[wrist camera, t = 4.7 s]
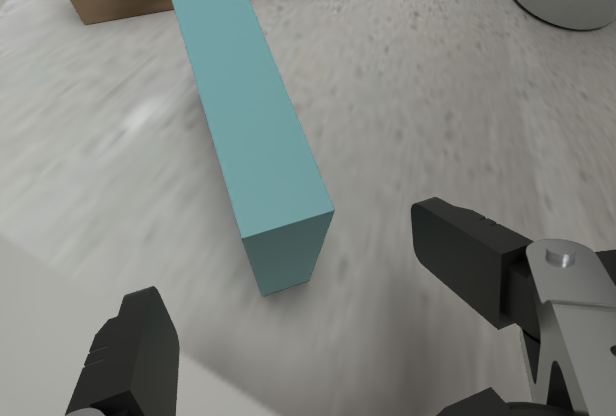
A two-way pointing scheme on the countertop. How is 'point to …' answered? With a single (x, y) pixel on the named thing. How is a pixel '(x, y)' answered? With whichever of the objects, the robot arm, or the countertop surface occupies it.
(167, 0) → the u-shaped wooden block
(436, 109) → the countertop surface
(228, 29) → the teal l-shaped piece
